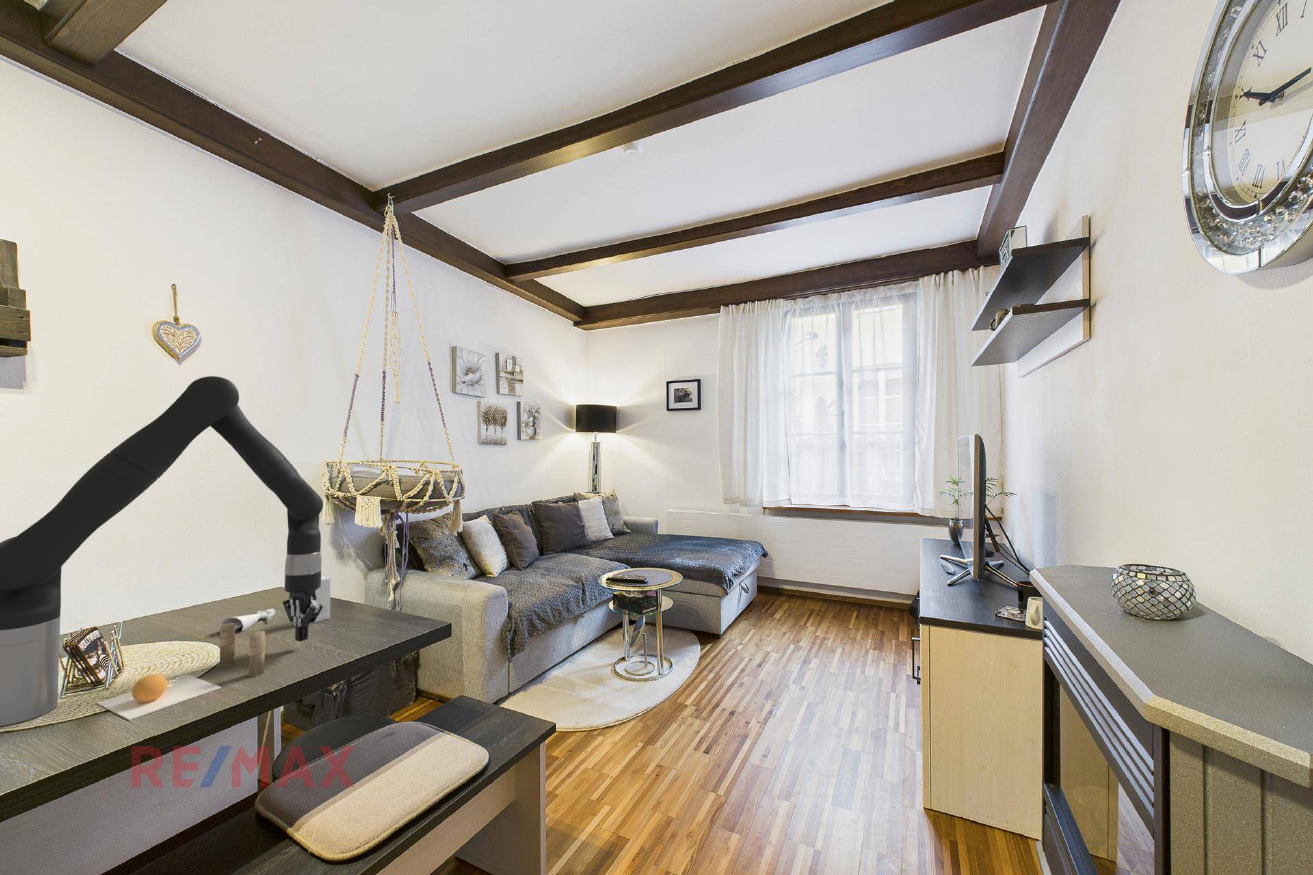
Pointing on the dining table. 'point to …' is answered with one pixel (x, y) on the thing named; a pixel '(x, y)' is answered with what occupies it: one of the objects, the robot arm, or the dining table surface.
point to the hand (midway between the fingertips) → (301, 639)
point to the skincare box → (323, 599)
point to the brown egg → (149, 688)
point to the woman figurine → (248, 619)
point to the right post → (257, 653)
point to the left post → (227, 644)
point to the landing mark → (173, 695)
